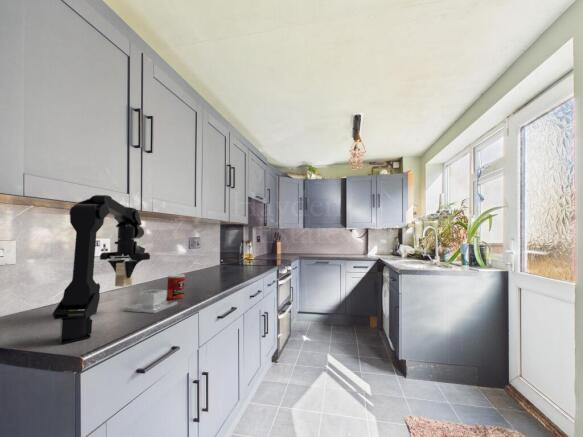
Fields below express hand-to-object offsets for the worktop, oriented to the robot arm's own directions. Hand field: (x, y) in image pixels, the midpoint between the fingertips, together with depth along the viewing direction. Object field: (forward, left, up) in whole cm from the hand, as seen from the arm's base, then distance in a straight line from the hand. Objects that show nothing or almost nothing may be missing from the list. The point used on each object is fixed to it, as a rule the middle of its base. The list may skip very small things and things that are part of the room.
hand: (124, 277), depth 104 cm
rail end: (0, 0, -3) cm, 3 cm away
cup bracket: (+10, -3, -13) cm, 17 cm away
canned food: (+24, +6, -13) cm, 28 cm away
